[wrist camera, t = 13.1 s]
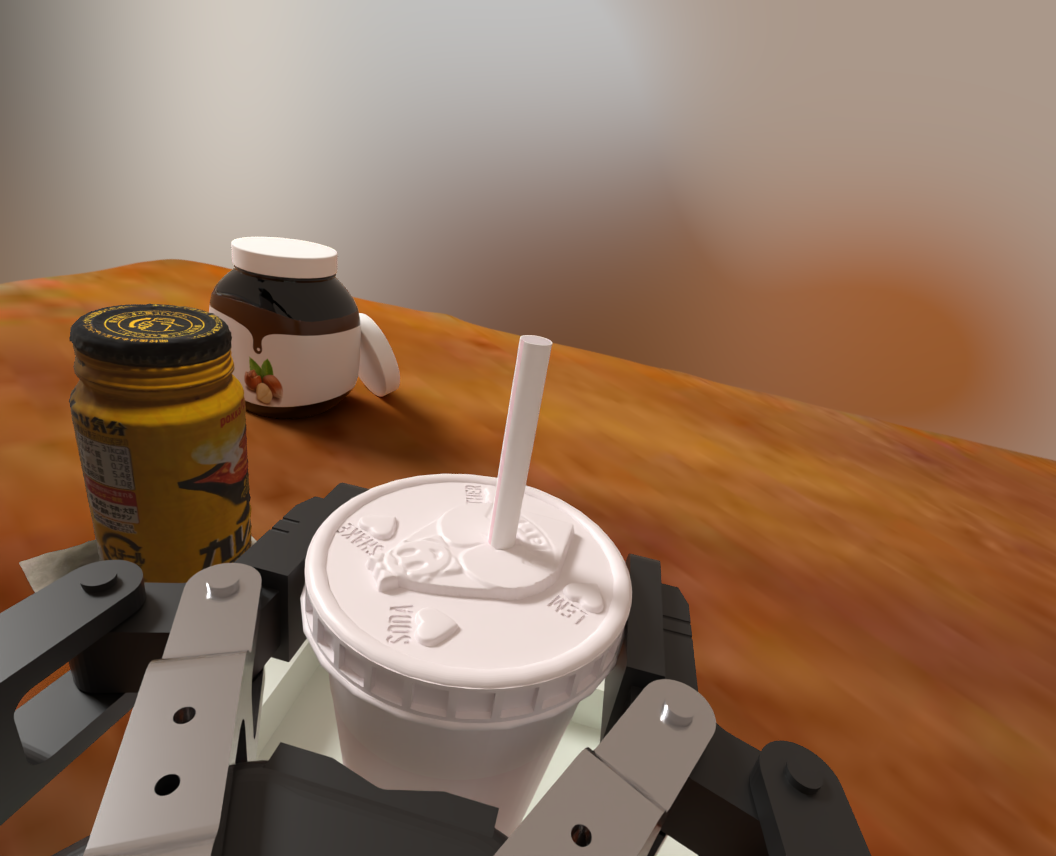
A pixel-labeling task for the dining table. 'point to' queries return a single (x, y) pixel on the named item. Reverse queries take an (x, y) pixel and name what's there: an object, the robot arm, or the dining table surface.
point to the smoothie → (464, 620)
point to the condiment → (157, 444)
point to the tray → (310, 723)
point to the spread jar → (297, 329)
